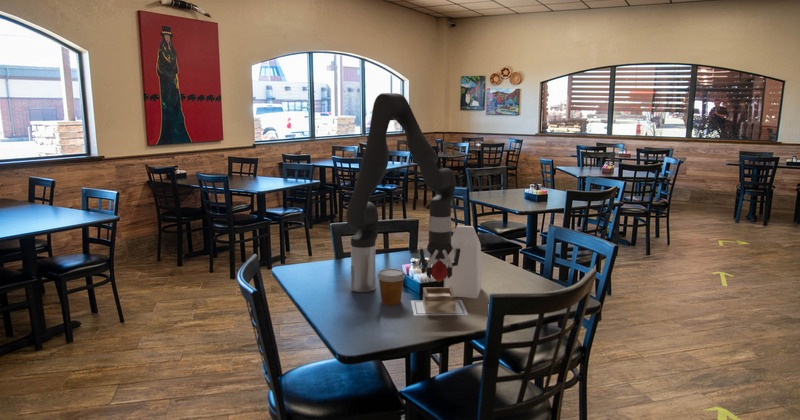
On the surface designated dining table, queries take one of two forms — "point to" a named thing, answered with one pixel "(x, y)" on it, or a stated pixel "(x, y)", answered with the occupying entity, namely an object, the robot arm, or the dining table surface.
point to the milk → (465, 263)
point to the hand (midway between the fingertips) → (439, 277)
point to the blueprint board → (419, 310)
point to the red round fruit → (439, 271)
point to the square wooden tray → (439, 300)
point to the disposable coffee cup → (391, 285)
